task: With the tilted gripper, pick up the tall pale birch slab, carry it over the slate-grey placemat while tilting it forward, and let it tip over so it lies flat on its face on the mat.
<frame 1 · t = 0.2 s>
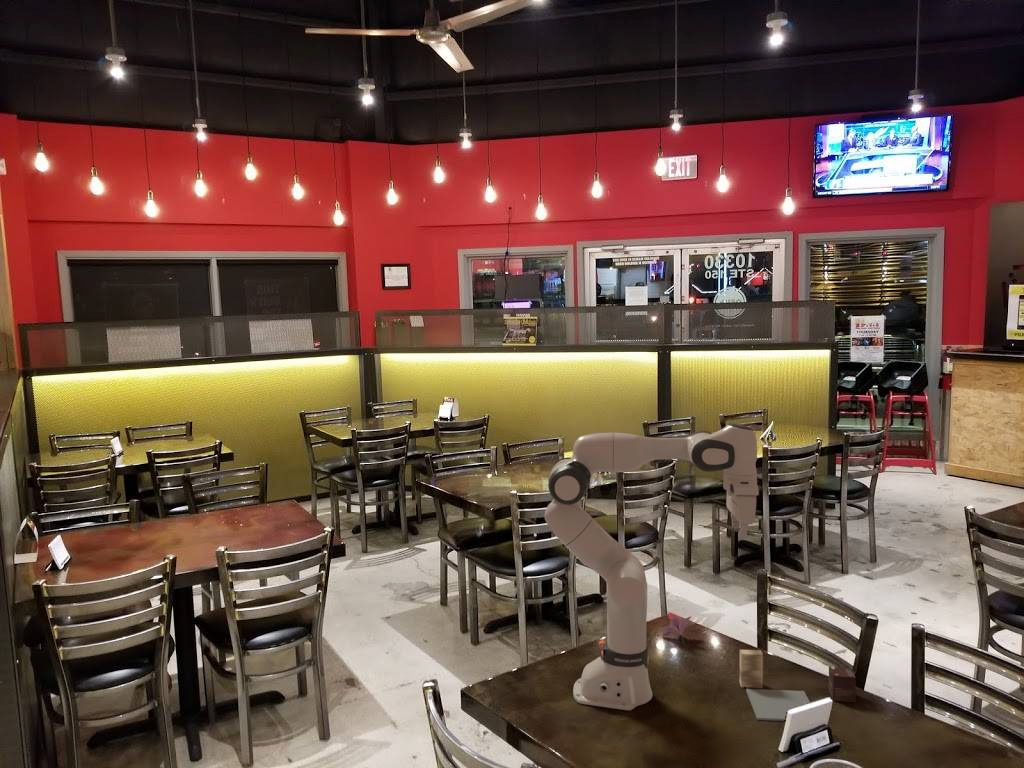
hand: (739, 532, 207), 48 cm above the table, tool pointing down, fingers open, 8 cm apart
box: (841, 697, 211), on the table
birch slab: (750, 685, 219), on the table
placemat: (781, 706, 207), on the table
lily: (678, 641, 250), on the table
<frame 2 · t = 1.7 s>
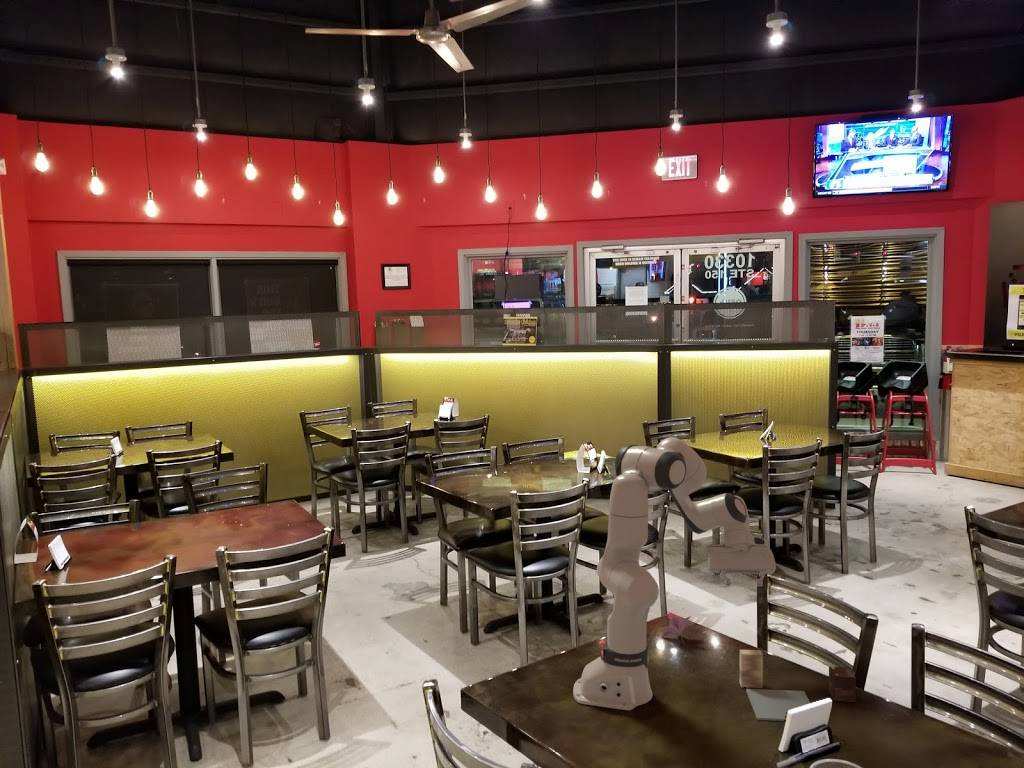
hand: (744, 585, 229), 26 cm above the table, tool tilted 45°, fingers open, 8 cm apart
nothing on the table moved.
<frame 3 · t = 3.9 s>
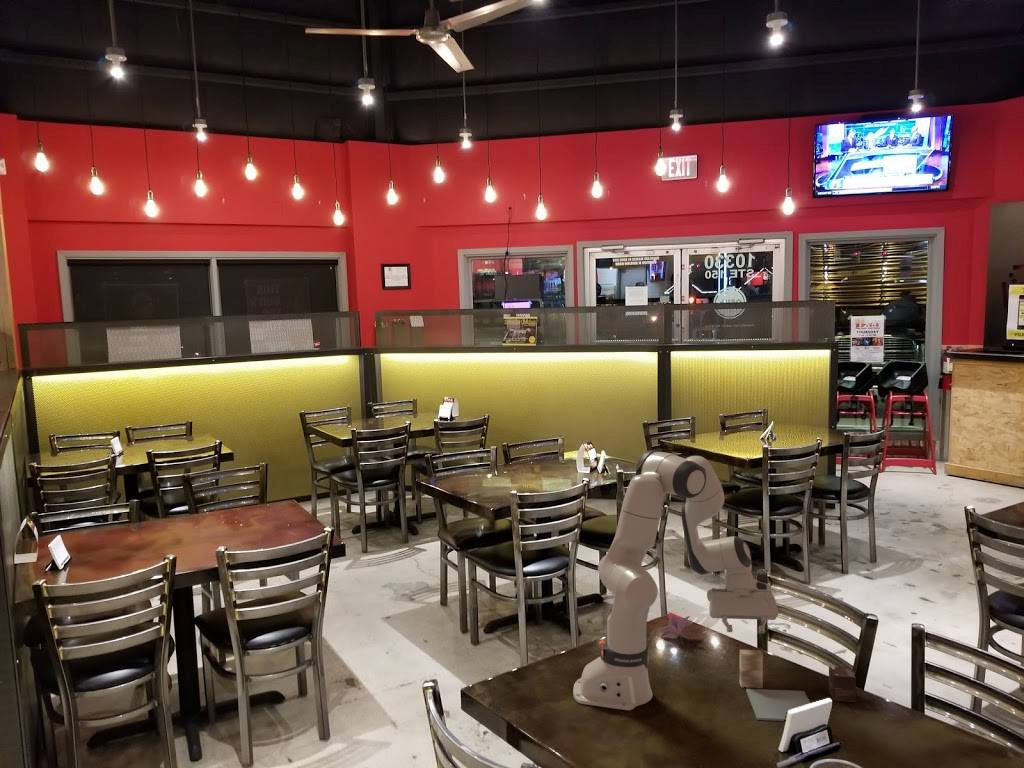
hand: (746, 632, 226), 13 cm above the table, tool tilted 45°, fingers open, 8 cm apart
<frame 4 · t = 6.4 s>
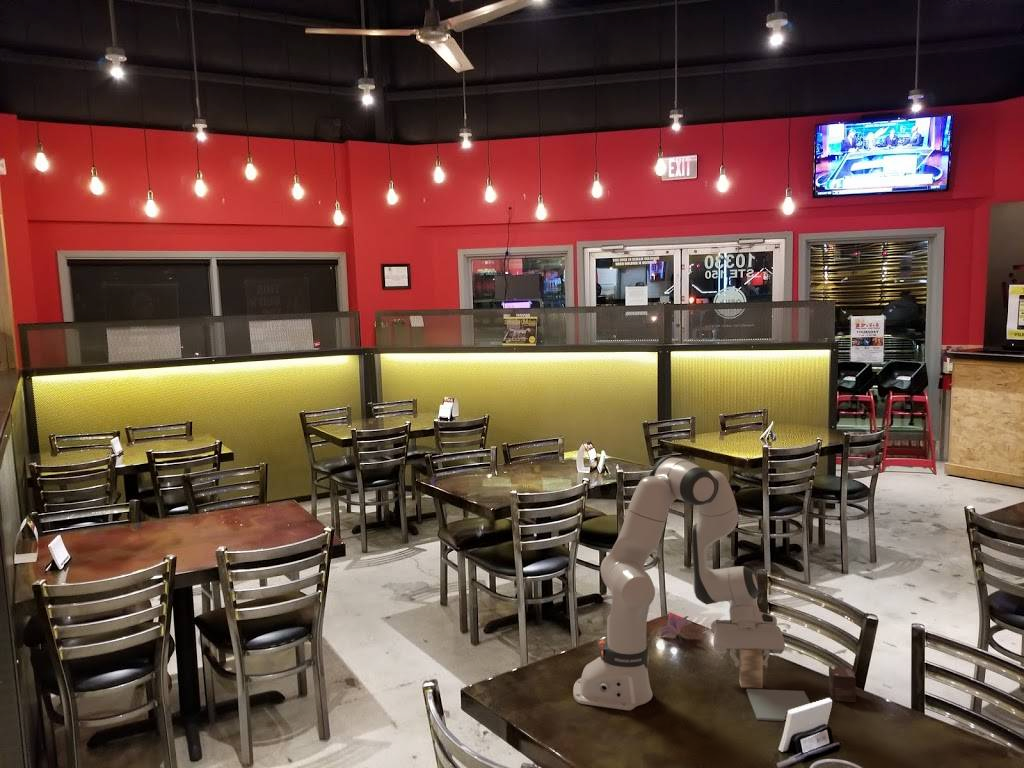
hand: (751, 666, 218), 6 cm above the table, tool tilted 45°, fingers closed on birch slab, 6 cm apart
birch slab: (750, 685, 219), on the table, touching gripper
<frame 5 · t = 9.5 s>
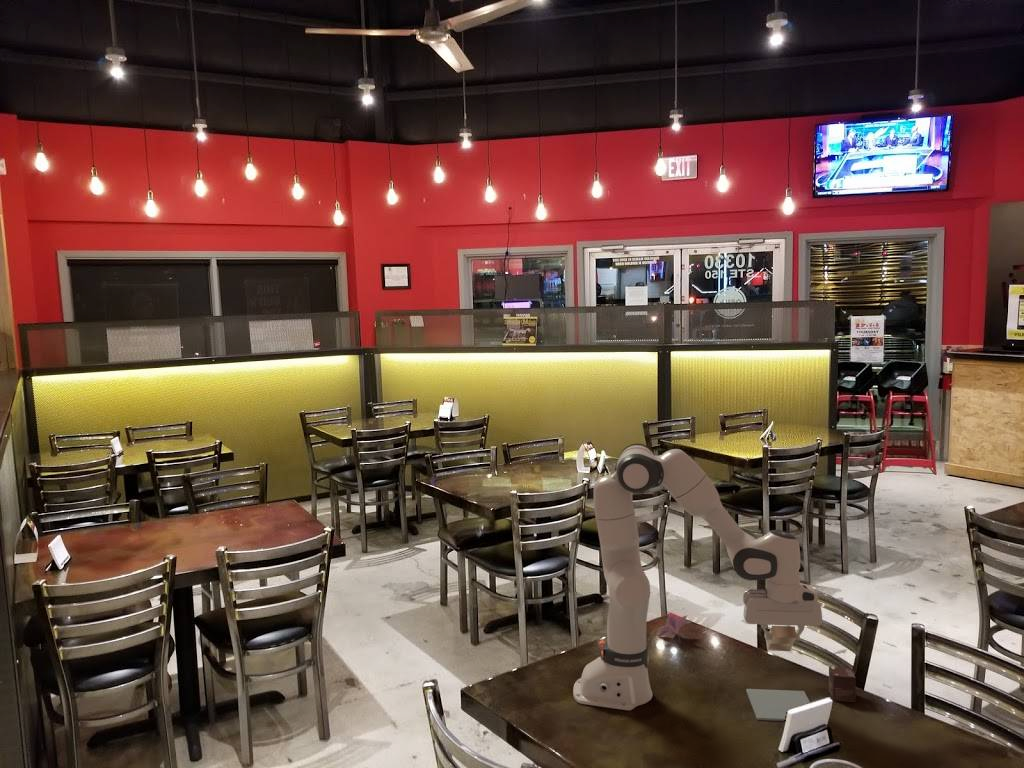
hand: (782, 639, 205), 19 cm above the table, tool pointing down, fingers closed on birch slab, 6 cm apart
birch slab: (777, 645, 210), point 15 cm above the table, tilted 45°, touching gripper
when the fingers open (7 cm above the table, at t = 12.1 s): birch slab drops 1 cm and tips over, resting on placemat.
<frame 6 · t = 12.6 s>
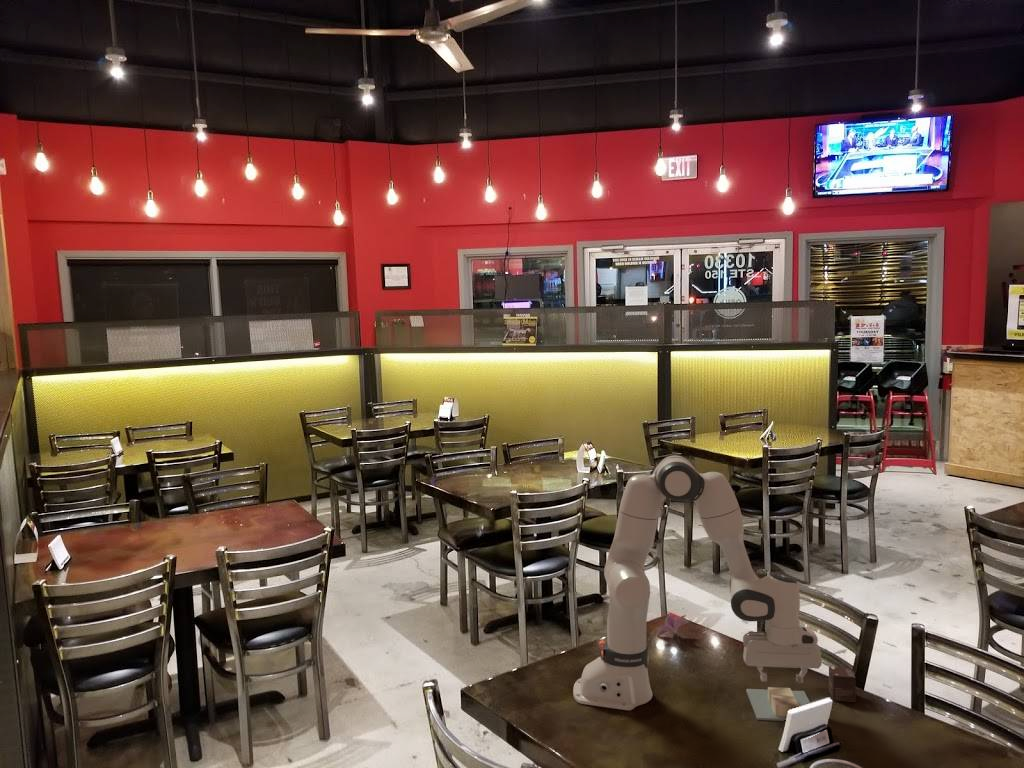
hand: (781, 681, 206), 7 cm above the table, tool pointing down, fingers open, 8 cm apart
birch slab: (778, 692, 210), point 2 cm above the table, tilted 90°, touching placemat
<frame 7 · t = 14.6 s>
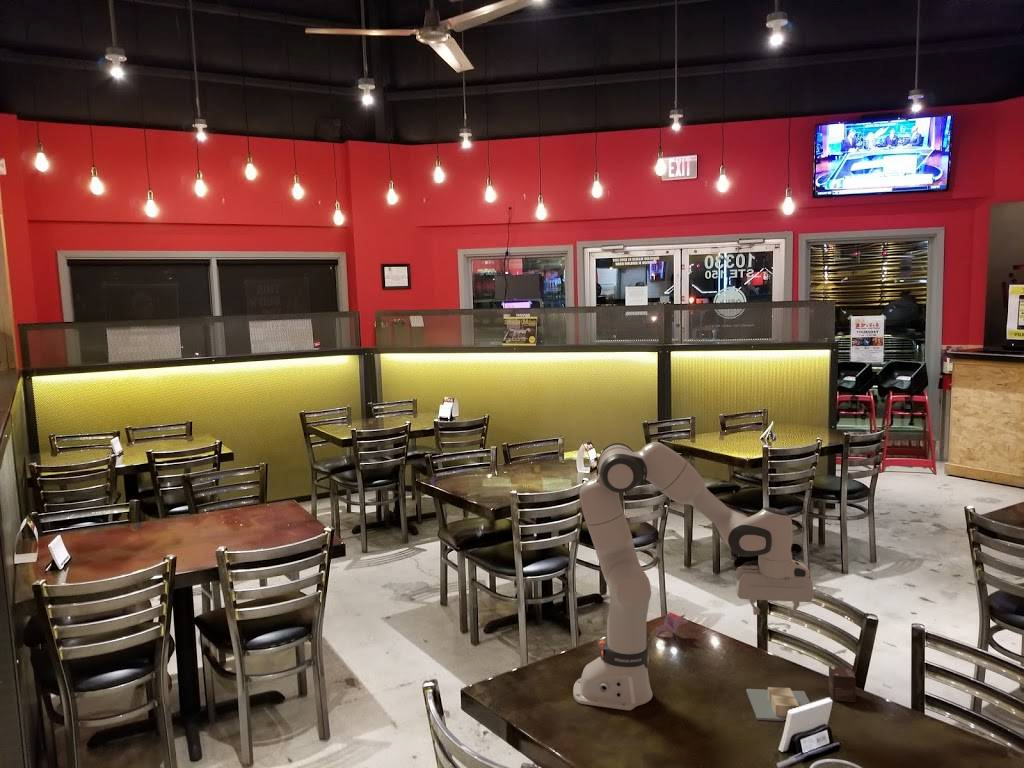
hand: (773, 615, 208), 24 cm above the table, tool pointing down, fingers open, 8 cm apart
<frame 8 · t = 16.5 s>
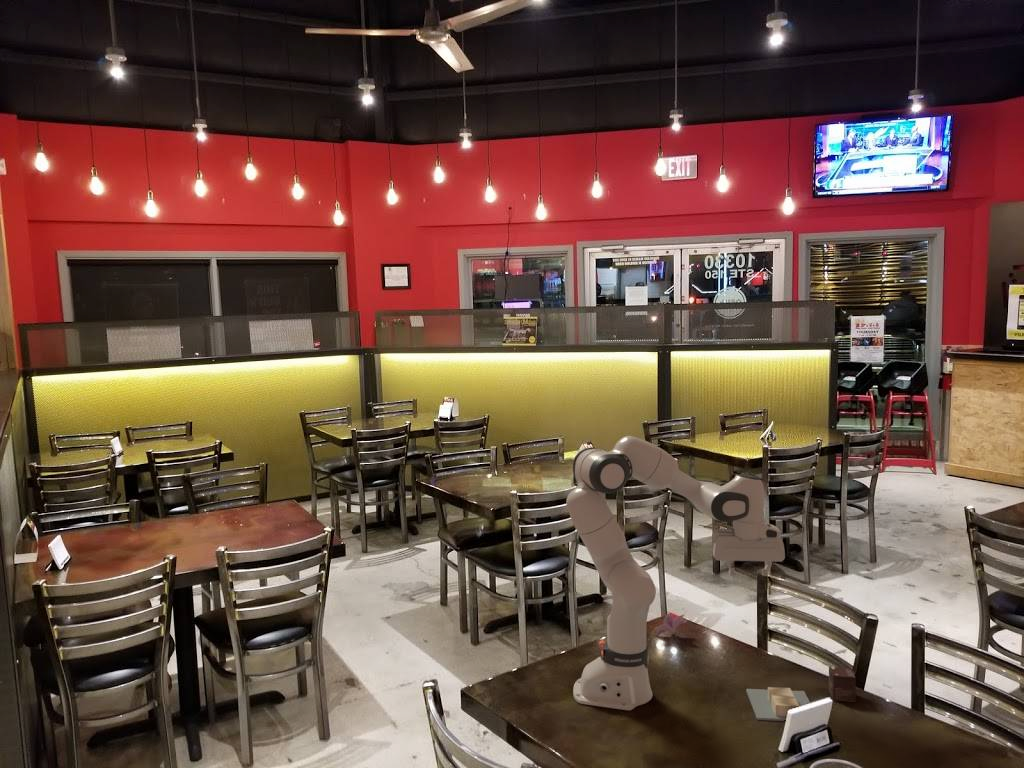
hand: (748, 574, 222), 31 cm above the table, tool pointing down, fingers open, 8 cm apart
at the end: birch slab tilted 90°; birch slab touching placemat; birch slab 3.4 cm from the placemat (horizontally) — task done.
